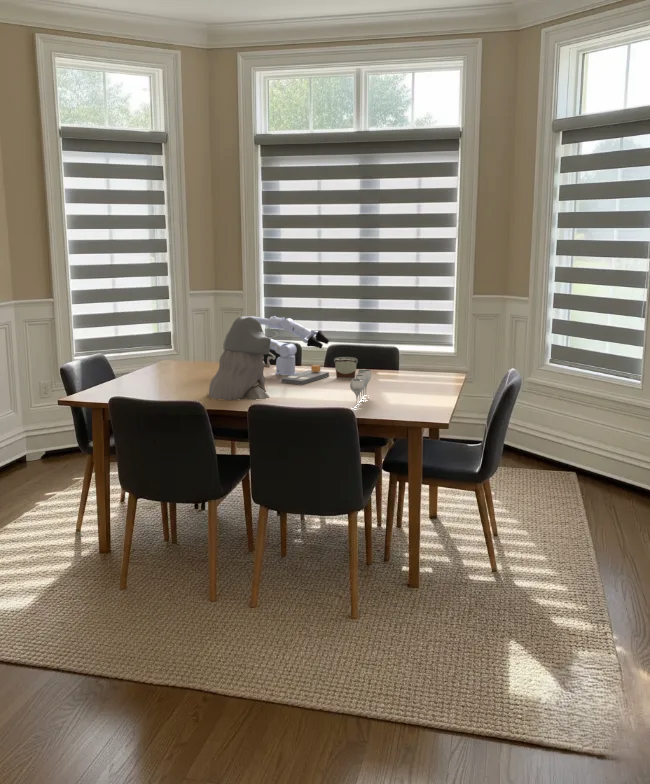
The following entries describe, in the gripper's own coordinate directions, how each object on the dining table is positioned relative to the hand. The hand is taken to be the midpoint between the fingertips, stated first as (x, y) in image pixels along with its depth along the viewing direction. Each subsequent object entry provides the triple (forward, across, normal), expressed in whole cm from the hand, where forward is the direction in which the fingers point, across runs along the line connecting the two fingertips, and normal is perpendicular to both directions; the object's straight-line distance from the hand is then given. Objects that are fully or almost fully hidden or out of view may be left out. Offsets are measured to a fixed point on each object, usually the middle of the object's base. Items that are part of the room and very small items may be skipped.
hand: (325, 344), depth 372 cm
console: (0, -12, +16) cm, 20 cm away
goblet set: (+39, -48, -7) cm, 62 cm away
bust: (-13, -54, +16) cm, 58 cm away
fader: (+1, -2, +15) cm, 15 cm away
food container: (+16, +1, +12) cm, 20 cm away
